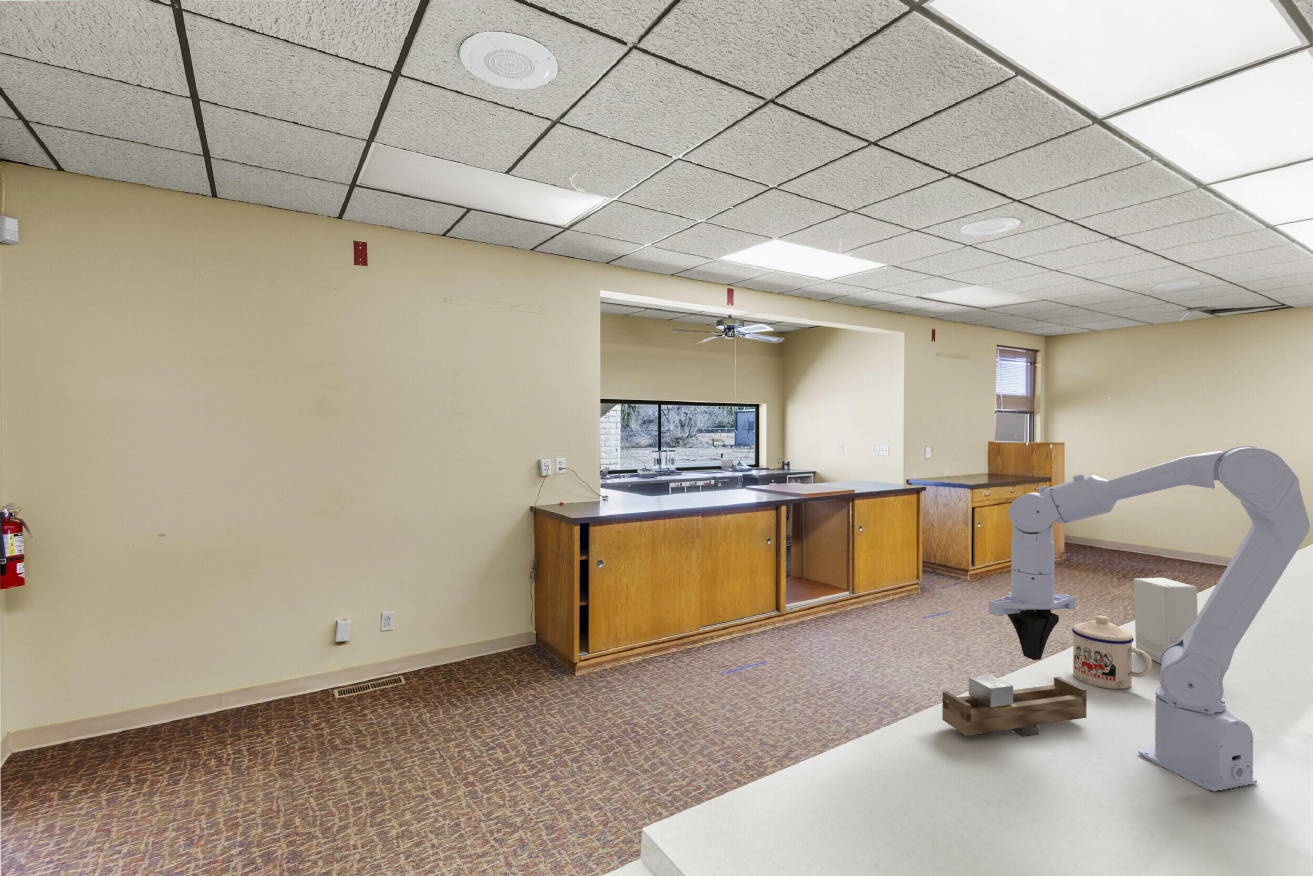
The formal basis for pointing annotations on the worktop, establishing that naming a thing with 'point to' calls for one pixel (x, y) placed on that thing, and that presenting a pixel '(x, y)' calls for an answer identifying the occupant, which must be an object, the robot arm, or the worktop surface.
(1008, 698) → the block
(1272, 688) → the worktop surface
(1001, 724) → the beam
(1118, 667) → the teacup with lid
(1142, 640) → the skincare box
